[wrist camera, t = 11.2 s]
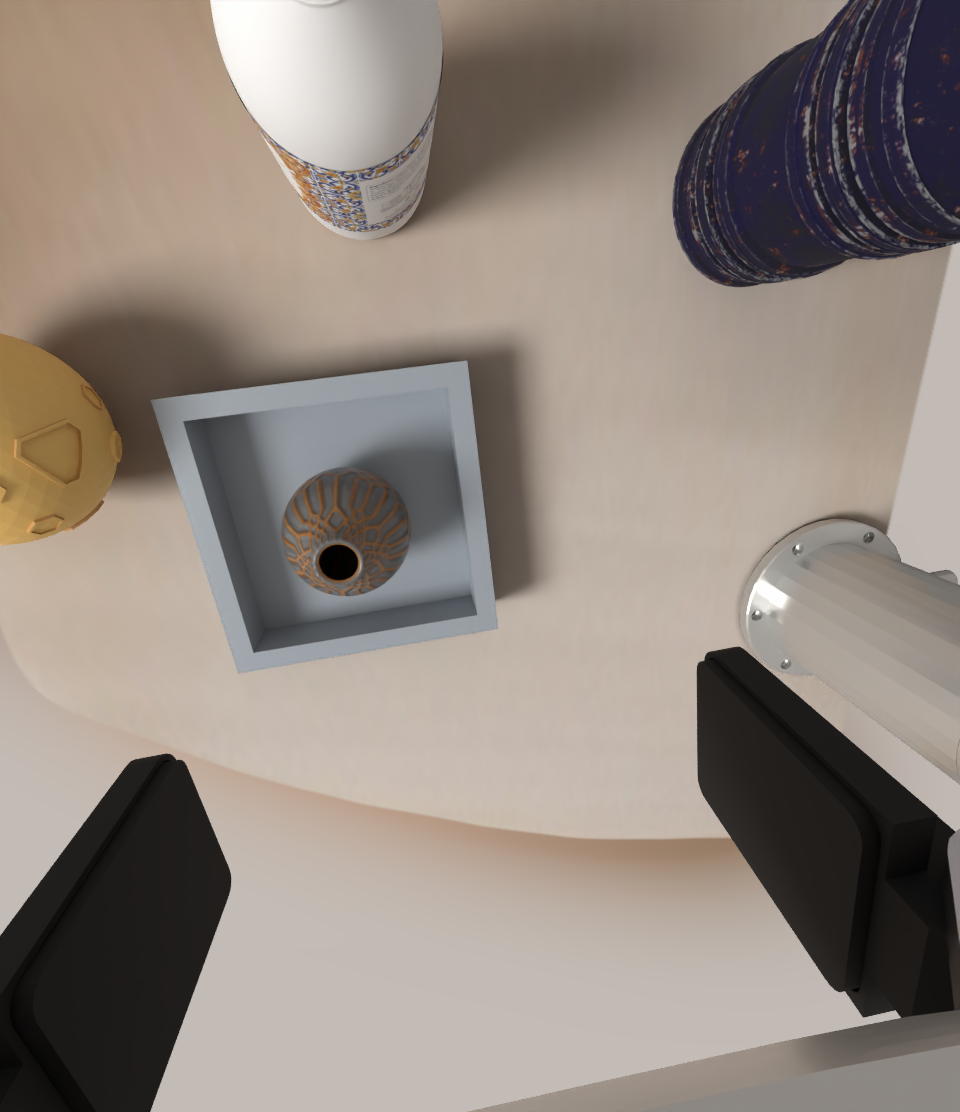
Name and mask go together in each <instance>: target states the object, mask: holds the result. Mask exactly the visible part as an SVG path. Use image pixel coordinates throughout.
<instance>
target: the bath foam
mask: <svg viewBox="0 0 960 1112" xmlns="http://www.w3.org/2000/svg"><path fill="white" fill-rule="evenodd" d="M210 1H211V10H212V16H213V21H214V26H215V31H216V35H217V39H218V43H219V47H220V50H221V53H222V56H223V59H224V62H225V65H226V68H227V71H228V74H229V76H230V79H231V81H232V84H233V86H234V88H235V90H236V92H237V94H238V96H239V98H240V100H241V101H242V103H243V105H244V106H245V108H246V110H247V111H248V113H249V115H250V116H251V118H252V120H253V121H254V123H255V125H256V126H257V128H258V130H259V131H260V133H261V135H262V136H263V138H264V140H265V141H266V143H267V145H268V146H269V148H270V150H271V151H272V153H273V155H274V156H275V158H276V160H277V161H278V163H279V165H280V166H281V168H282V170H283V171H284V173H285V175H286V176H287V178H288V180H289V181H290V183H291V185H292V186H293V188H294V190H295V191H296V193H297V194H298V196H299V197H300V199H301V200H302V202H303V204H304V205H305V206H306V208H307V209H308V210H309V212H310V213H311V214H312V215H313V216H314V217H315V218H316V219H317V220H318V221H319V222H320V223H321V224H323V225H324V226H325V227H327V228H328V229H330V230H331V231H333V232H335V233H337V234H339V235H342V236H344V237H347V238H351V239H356V240H372V239H377V238H381V237H384V236H387V235H389V234H391V233H393V232H395V231H397V230H398V229H399V228H401V227H402V226H403V225H404V224H405V223H406V222H407V221H408V220H409V219H410V217H411V216H412V215H413V213H414V212H415V210H416V208H417V206H418V204H419V202H420V200H421V197H422V194H423V190H424V186H425V181H426V176H427V170H428V164H429V157H430V150H431V143H432V136H433V130H434V123H435V116H436V109H437V103H438V96H439V89H440V82H441V76H442V66H443V56H442V29H441V19H440V12H439V6H438V0H210ZM443 50H444V49H443Z"/></svg>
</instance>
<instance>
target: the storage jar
mask: <svg viewBox="0 0 960 1112" xmlns="http://www.w3.org/2000/svg"><path fill="white" fill-rule="evenodd" d="M673 217H674V225H675V229H676V233H677V237H678V240H679V242H680V244H681V247H682V249H683V251H684V253H685V254H686V256H687V258H688V259H689V261H690V262H691V263H692V264H693V266H694V267H695V268H696V269H697V270H698V271H699V272H700V273H702V274H703V275H704V276H705V277H707V278H708V279H710V280H712V281H714V282H716V283H719V284H722V285H725V286H731V287H748V286H754V285H758V284H762V283H777V282H783V281H788V280H792V279H798V278H806V277H810V276H813V275H817V274H819V273H822V272H824V271H826V270H828V269H830V268H833V267H835V266H837V265H839V264H841V263H842V262H844V261H845V260H848V259H852V258H858V259H867V260H868V259H877V260H880V259H892V258H897V257H901V256H905V255H908V254H912V253H917V252H922V251H927V250H932V249H936V248H941V247H945V246H949V245H952V244H956V243H959V242H960V0H849V1H848V2H847V4H846V5H845V6H844V7H843V9H842V10H841V11H839V12H838V13H837V15H836V16H835V17H834V18H833V20H832V21H831V22H830V23H829V25H828V26H827V27H826V28H825V30H824V31H823V32H821V33H820V34H819V35H818V36H816V37H815V38H813V39H809V40H807V41H805V42H803V43H801V44H799V45H796V46H794V47H793V48H791V49H789V50H787V51H785V52H783V53H782V54H781V55H779V56H778V57H776V58H775V59H774V60H772V61H771V62H770V63H769V64H768V65H767V66H766V67H765V68H764V69H762V70H761V71H760V72H758V73H757V74H755V75H754V76H753V77H752V78H750V79H749V80H748V81H747V82H746V83H744V84H743V85H742V86H741V87H740V88H739V89H738V90H737V91H736V92H735V93H734V94H733V95H731V97H730V98H729V99H728V100H727V102H725V103H724V104H722V105H721V106H720V107H718V108H717V109H716V110H715V111H714V112H713V113H712V114H710V115H709V116H708V117H707V118H706V119H705V120H704V121H703V123H702V124H701V125H700V126H699V128H698V129H697V130H696V131H695V133H694V134H693V136H692V138H691V139H690V141H689V143H688V145H687V146H686V148H685V151H684V153H683V155H682V158H681V160H680V163H679V166H678V170H677V173H676V177H675V183H674V190H673Z"/></svg>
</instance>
